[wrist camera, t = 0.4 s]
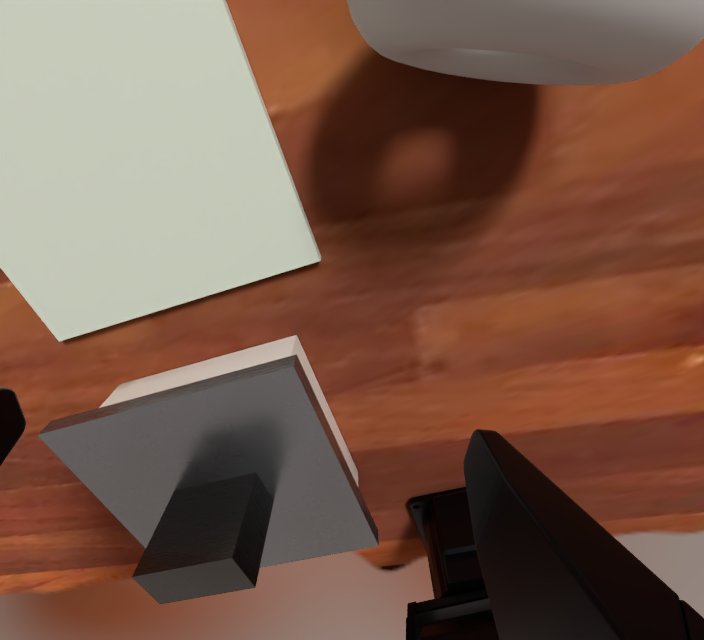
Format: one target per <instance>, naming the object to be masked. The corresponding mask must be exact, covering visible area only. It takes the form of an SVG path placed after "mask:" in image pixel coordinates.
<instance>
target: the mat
mask: <svg viewBox="0 0 704 640" xmlns="http://www.w3.org/2000/svg"><path fill="white" fill-rule="evenodd" d="M319 261H321V255H320V252H319V249H318V247H317V244H316V241H315V239H314V236H313V233H312V231H311V228H310V225H309V223H308V220H307V217H306V214H305V212H304V209H303V206H302V204H301V201H300V198H299V196H298V193H297V190H296V188H295V185H294V182H293V180H292V177H291V174H290V172H289V169H288V166H287V164H286V161H285V158H284V155H283V153H282V150H281V147H280V145H279V142H278V139H277V137H276V134H275V131H274V129H273V126H272V123H271V121H270V118H269V115H268V113H267V110H266V107H265V105H264V102H263V99H262V96H261V94H260V91H259V88H258V86H257V83H256V80H255V78H254V75H253V72H252V70H251V67H250V64H249V62H248V59H247V56H246V54H245V51H244V48H243V46H242V43H241V40H240V37H239V35H238V32H237V29H236V27H235V24H234V21H233V19H232V16H231V13H230V11H229V8H228V5H227V3H226V0H0V268H1V269H2V270H3V272H4V273H5V274H6V275H7V277H8V278H9V279H10V280H11V282H12V283H13V284H14V285H15V287H16V288H17V289H18V290H19V292H20V293H21V294H22V296H23V297H24V298H25V299H26V301H27V302H28V303H29V304H30V306H31V307H32V308H33V309H34V311H35V312H36V313H37V314H38V316H39V317H40V318H41V319H42V321H43V322H44V323H45V325H46V326H47V327H48V328H49V330H50V331H51V332H52V333H53V335H54V336H55V337H56V338H57V340H58V341H59V342H60V341H63V340H66V339H69V338H72V337H76V336H79V335H82V334H85V333H89V332H92V331H95V330H98V329H102V328H105V327H108V326H111V325H115V324H118V323H121V322H124V321H128V320H131V319H134V318H137V317H141V316H144V315H147V314H150V313H153V312H157V311H160V310H163V309H166V308H170V307H173V306H176V305H179V304H183V303H186V302H189V301H192V300H196V299H199V298H202V297H205V296H209V295H212V294H215V293H218V292H222V291H225V290H228V289H231V288H235V287H238V286H241V285H244V284H247V283H251V282H254V281H257V280H260V279H264V278H267V277H270V276H273V275H277V274H280V273H283V272H286V271H290V270H293V269H296V268H299V267H303V266H306V265H309V264H312V263H316V262H319Z"/></svg>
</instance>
